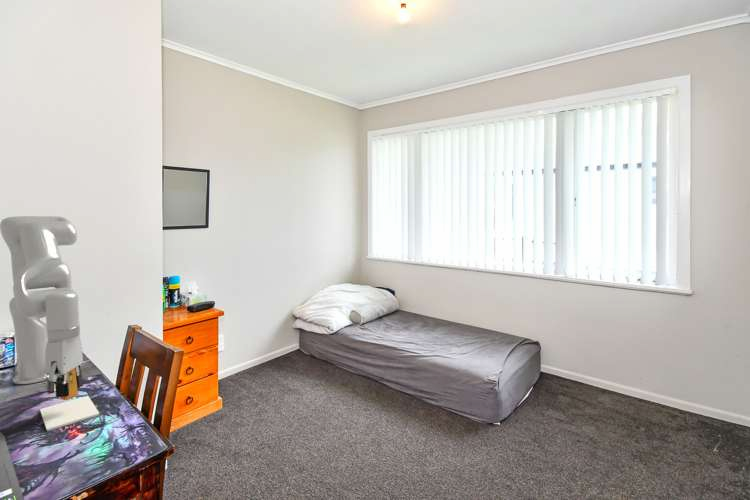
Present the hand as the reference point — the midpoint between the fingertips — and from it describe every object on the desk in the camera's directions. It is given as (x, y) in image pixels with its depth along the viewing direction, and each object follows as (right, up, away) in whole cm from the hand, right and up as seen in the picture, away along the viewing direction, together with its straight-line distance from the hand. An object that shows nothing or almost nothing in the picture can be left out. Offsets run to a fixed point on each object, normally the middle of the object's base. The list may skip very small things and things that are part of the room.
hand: (68, 392), depth 114 cm
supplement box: (0, -2, 0) cm, 2 cm away
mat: (0, -7, +1) cm, 7 cm away
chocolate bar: (-19, -5, +23) cm, 30 cm away
